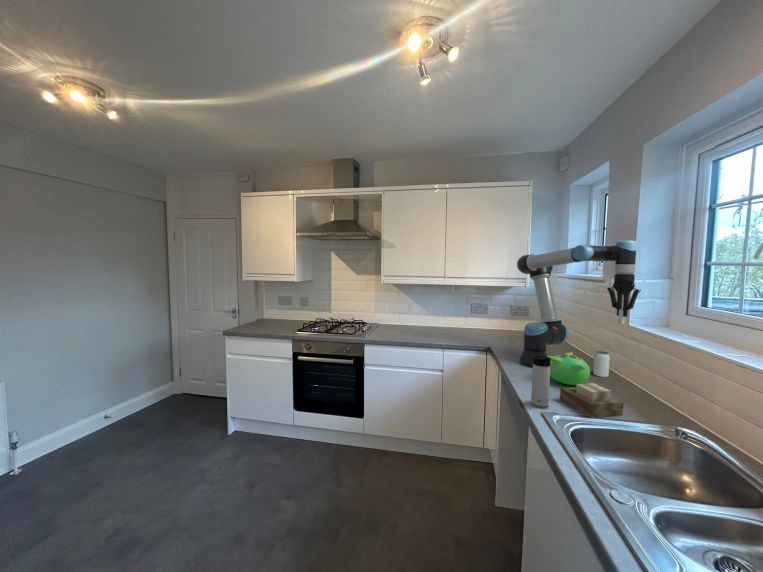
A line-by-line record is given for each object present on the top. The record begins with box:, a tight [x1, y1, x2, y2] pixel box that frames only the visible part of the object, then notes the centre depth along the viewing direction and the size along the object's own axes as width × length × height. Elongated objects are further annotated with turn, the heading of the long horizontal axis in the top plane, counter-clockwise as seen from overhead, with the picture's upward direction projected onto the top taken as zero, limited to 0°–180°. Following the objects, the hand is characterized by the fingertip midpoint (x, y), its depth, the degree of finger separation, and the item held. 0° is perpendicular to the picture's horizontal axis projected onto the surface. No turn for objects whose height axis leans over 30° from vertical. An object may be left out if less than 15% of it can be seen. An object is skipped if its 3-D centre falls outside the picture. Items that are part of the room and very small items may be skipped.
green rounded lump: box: [547, 351, 591, 386], centre depth 149 cm, size 18×17×15 cm
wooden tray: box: [559, 386, 624, 419], centre depth 125 cm, size 14×16×5 cm
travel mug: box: [530, 356, 551, 409], centre depth 125 cm, size 6×7×20 cm
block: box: [575, 382, 612, 402], centre depth 125 cm, size 8×8×8 cm
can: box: [593, 350, 610, 378], centre depth 162 cm, size 6×6×12 cm
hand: (621, 323), depth 149 cm, fingers closed
